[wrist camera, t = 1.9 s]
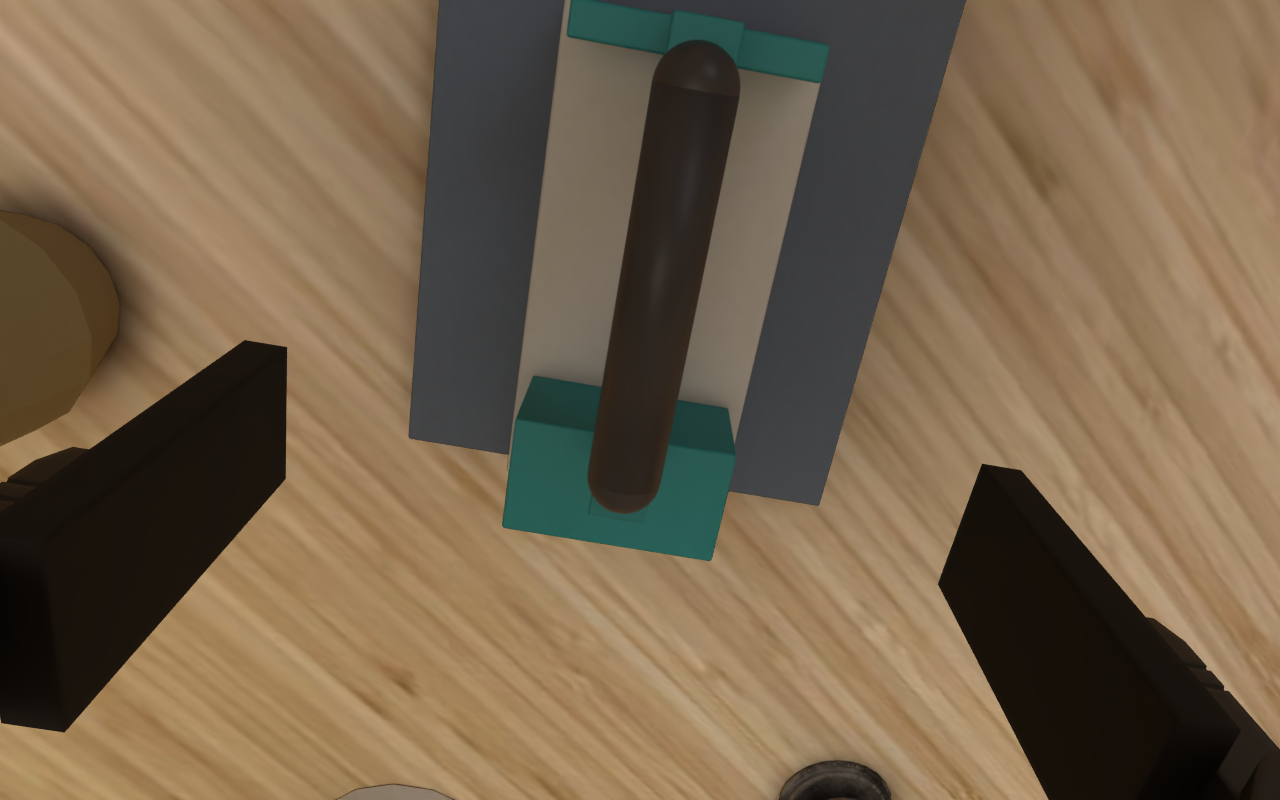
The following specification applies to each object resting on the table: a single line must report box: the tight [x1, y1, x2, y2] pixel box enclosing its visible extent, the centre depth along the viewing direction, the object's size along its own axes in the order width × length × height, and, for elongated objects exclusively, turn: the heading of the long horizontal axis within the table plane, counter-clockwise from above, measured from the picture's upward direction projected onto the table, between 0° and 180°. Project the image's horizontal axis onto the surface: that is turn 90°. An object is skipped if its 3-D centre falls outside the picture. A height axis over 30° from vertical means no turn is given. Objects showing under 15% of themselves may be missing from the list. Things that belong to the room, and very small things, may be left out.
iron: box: [502, 0, 830, 561], centre depth 25 cm, size 16×8×10 cm, turn 170°
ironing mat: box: [409, 0, 966, 506], centre depth 28 cm, size 16×26×1 cm, turn 170°
